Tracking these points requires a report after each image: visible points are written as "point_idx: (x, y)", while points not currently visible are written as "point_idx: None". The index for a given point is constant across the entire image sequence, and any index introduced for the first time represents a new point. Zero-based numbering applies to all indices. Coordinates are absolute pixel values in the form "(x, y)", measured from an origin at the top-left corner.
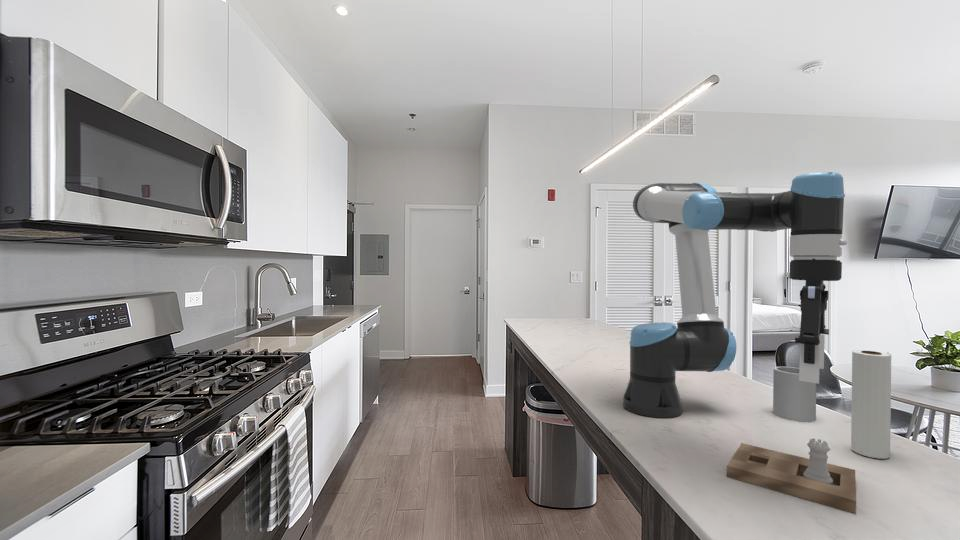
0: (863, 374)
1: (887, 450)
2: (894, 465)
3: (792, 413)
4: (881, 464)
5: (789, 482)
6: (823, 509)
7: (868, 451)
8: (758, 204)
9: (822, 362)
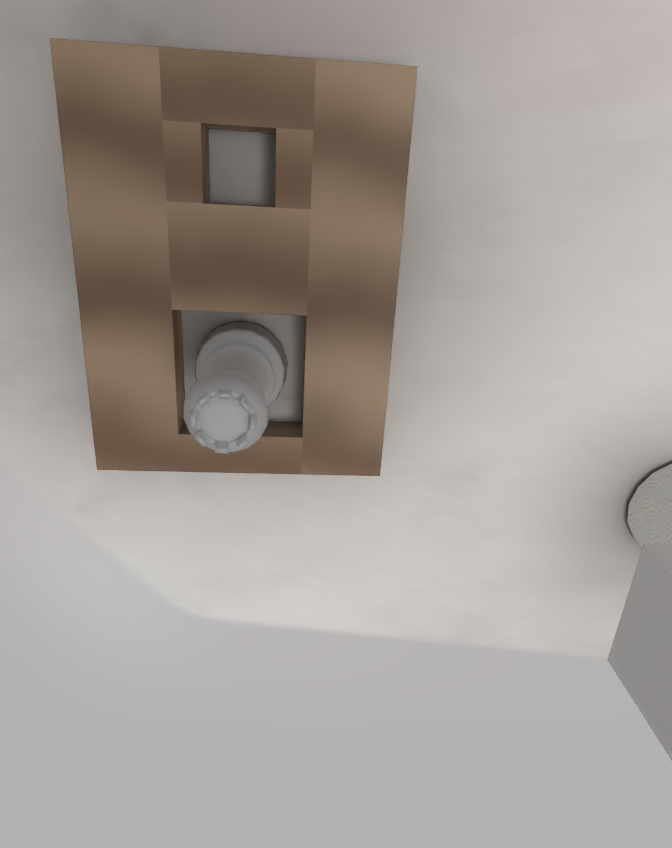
0: None
1: None
2: (593, 554)
3: None
4: (582, 526)
5: (80, 292)
6: (63, 379)
7: (640, 510)
8: None
9: (642, 704)
